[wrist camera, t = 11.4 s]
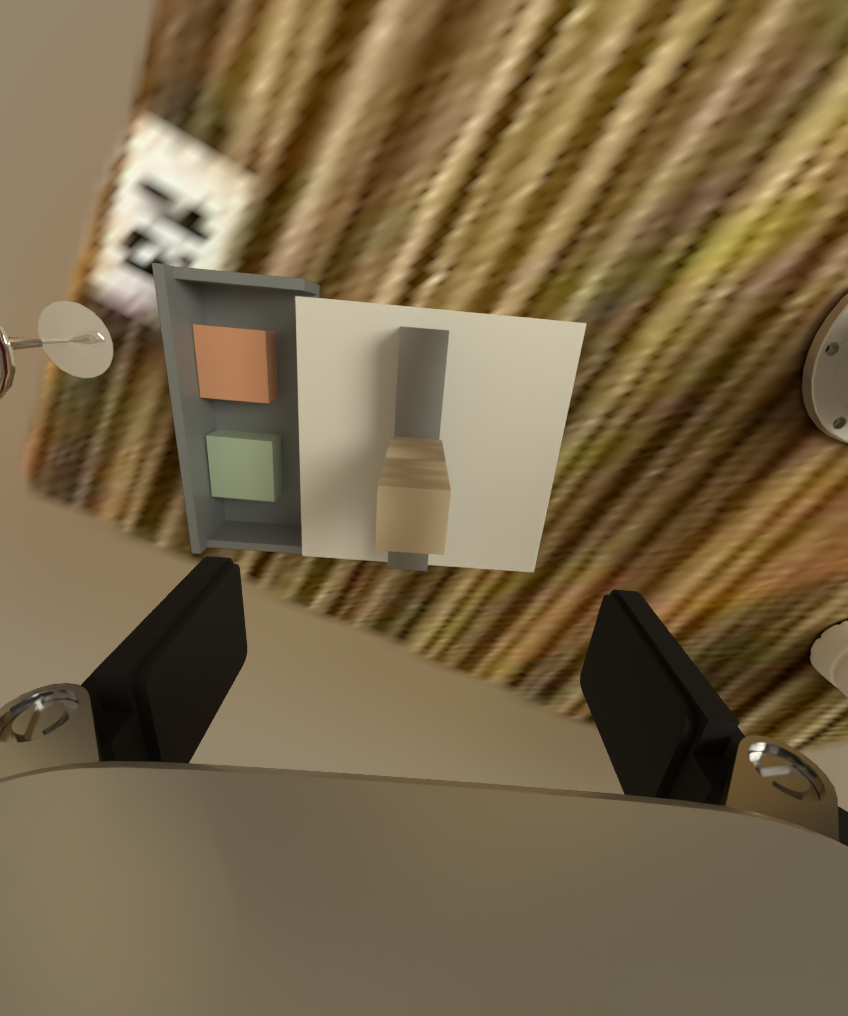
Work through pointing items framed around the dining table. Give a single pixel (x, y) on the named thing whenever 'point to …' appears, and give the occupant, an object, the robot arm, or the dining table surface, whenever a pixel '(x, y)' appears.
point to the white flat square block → (464, 426)
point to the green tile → (245, 465)
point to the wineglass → (62, 342)
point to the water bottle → (832, 656)
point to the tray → (232, 401)
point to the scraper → (415, 456)
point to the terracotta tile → (236, 363)
